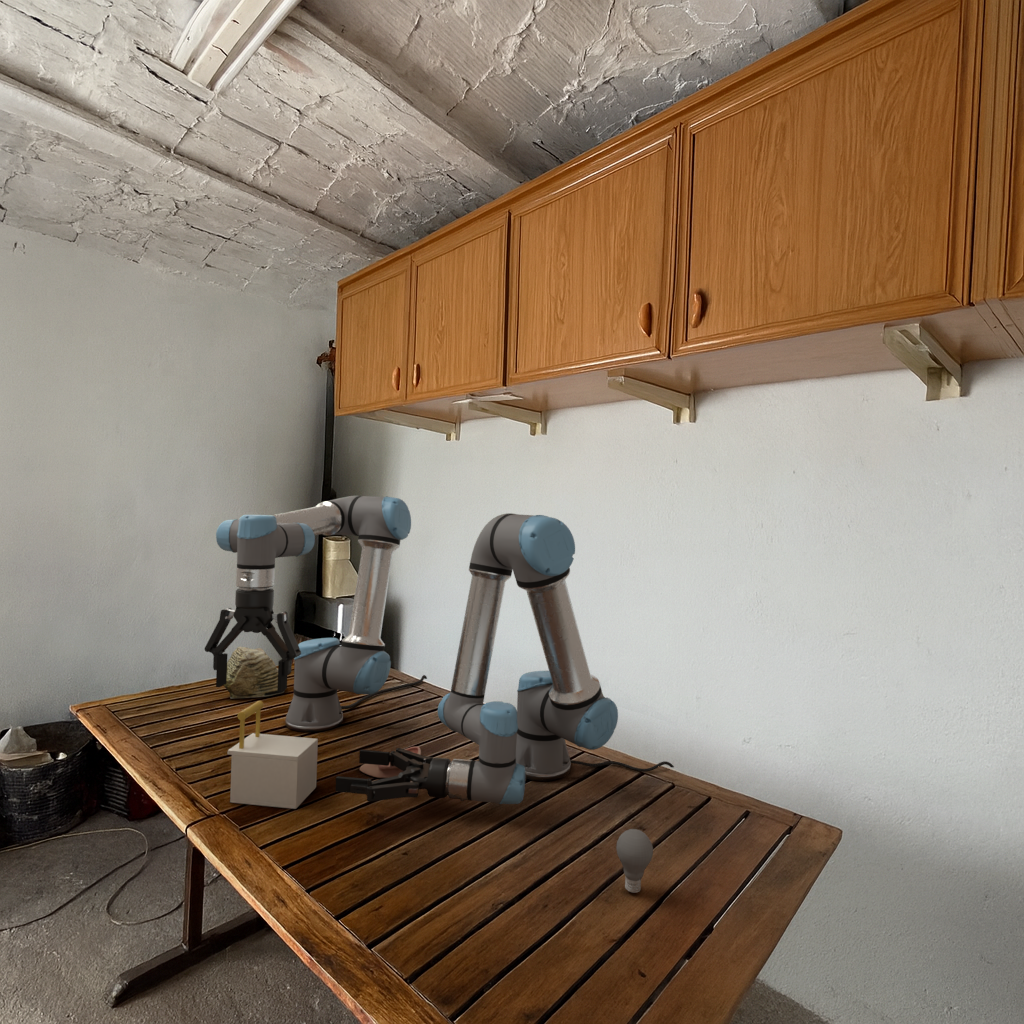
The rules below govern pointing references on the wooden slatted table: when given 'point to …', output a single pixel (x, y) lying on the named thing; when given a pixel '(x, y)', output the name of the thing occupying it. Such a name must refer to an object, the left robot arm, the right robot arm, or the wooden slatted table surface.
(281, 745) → the lid
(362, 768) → the anatomical model
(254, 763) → the chest
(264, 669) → the fossil
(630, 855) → the light bulb
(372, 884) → the wooden slatted table surface
